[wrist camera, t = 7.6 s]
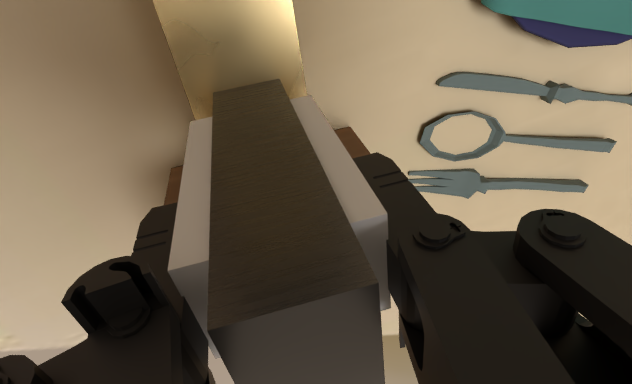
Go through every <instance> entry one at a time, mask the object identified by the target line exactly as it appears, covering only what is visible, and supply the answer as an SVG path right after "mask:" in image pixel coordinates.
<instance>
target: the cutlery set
mask: <svg viewBox="0 0 632 384" xmlns="http://www.w3.org/2000/svg"><path fill="white" fill-rule="evenodd" d="M481 3H482V4H483V5H485V6H486V7H488V8H489V9H491V10H492V11H494V12H497V13H501V14H505V15H509V16H511V17H512V18H513V19H514V20H515V21H516V22H517V24H518V25H519V26H520V27H521V28H522V29H523V30H525V31H527V32H529V33H532V34H534V35H537V36H539V37H542V38H545V39H547V40H550V41H552V42H555V43H557V44H560V45H563V46H565V47H568V48H572V47H588V46H603V45H617V44H620V43H622V42H625V41H627V40H630V39H632V0H481ZM436 84H437V85H438V86H444V87H454V88H465V89H475V90H486V91H496V92H507V93H517V94H528V95H538V96H541V99H542V100H544V101H546V102H548V103H550V104H551V102H552V100H553V99H557V100H559V101H561V102H563V103H569V102H572V101H576V100H589V101H614V102H621V103H627V104H629V105H632V93H631V94H630V96H629V95H609V94H603V93H598V92H591V91H581V90H579V89H576V88H574V87H572V86H569V85H567V84H563V85H561V86H560V85H559V84H557V83H554V82H552V81H549V82H548V83H547V84H546V85H545V86H544V85H541V84H539V83H536V82H532V81H528V80H525V79H521V78H515V77H509V76H501V75H492V74H482V73H471V72H456V73H452V74H449V75H447V76H445V77H442V78H440V79H439V80H438V81H437V83H436ZM466 114H473V115H475V116H478V117H481V118H484V119H486V121H487V123H488V124H489V126H490V127H491V129H492V131H491V134H490V136H489V139H488V141H487V143H485V144H484V145H482V146H481V147H479V148H477V149H476V150H474V151H473V152H468V153H463V154H458V155H453V154H449V153H446V152H442V151H439V150H438V149H437V148H436V147H435V146H434V145H433V143H432V142H431V141H430V137H431V134H432V132H433V129H434V126H436V125H438V124H440V123H441V122H443V121H445V120H447V119H448V118H450V117H452V116H459V115H466ZM503 141H505V142H512V143H520V144H528V145H538V146H546V147H553V148H563V149H575V150H585V151H596V152H608V153H610V151H611V150H612V148H613V147H614V145H615V143H616V142H617V141H614V140H612V139H610V138H606V139H601V138H556V137H541V136H522V135H508V134H505V131H504V130H503V128H502V127H501V125H500V124H499V123H498V121H497V120H496V118H493V117H490V116H487V115H483V114H480V113H477V112H466V113H459V114H451V115H447V116H445V117H443V118H441V119H439V120H438V121H436V122H434V123H432V124H430V125H428V126H427V127H425V129H424V132H423V135H422V138H421V141H420V144H421V145H422V146H423V147H424V148H425V149H426V150H427V151H428V152H429V153H430V154H431V155H432V156H434V157H439V158H443V159H447V160H451V161H461V160H467V159H474V158H479V157H481V156H483V155H484V154H486V153H488V152H490V151H492V150H493V149H495V148H497V147H498V146H499V145H500V144H501V143H502V142H503ZM408 175H419V176H430V177H438V178H421V179H408V181H410V182H411V183H419V184H429V185H436V186H414V187H415V188H416V189H417V190H418V191H420V192H430V193H438V194H446V195H454V196H461V197H465V198H468V199H469V198H470V197H471V196H472V195H473V194H474V193H475V192H476V191H479V192H481V193H484V194H485V193H486V191H487V190H503V189H530V190H547V191H558V192H583V193H584V191H585V190H586V188H587V187H588V184H586V183H585V182H583V181H582V180H554V179H533V178H500V179H486V178H485V177H484V176H480V174H479V173H478V172H477V171H476V170H474V169H461V170H458V169H453V170H424V171H409V172H408Z"/></svg>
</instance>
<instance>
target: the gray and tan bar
mask: <svg viewBox="0 0 632 384" xmlns="http://www.w3.org/2000/svg"><path fill="white" fill-rule="evenodd" d="M152 1H153V3H154V6H155V9H156V12H157V15H158V17H159V20H160V23H161V26H162V29H163V31H164V34H165V37H166V40H167V42H168V45H169V48H170V51H171V54H172V56H173V59H174V62H175V65H176V68H177V70H178V73H179V76H180V79H181V82H182V84H183V87H184V90H185V93H186V96H187V98H188V101H189V104H190V107H191V109H192V112H193V115H194V118H195V120H199V119H204V118H208V117H212V151H211V191H210V231H209V271H208V311H207V332H208V334H209V336H210V338H211V339H212V341H213V343H214V345H215V347H216V349H217V351H218V353H219V355H220V356H221V358H222V360H223V362H224V364H225V366H226V368H227V370H228V372H229V373H230V375H231V377H232V379H233V381H234V383H235V384H385V377H384V361H383V344H382V328H381V312H380V295H379V282H378V280H377V278H376V276H375V274H374V272H373V270H372V268H371V266H370V264H369V262H368V260H367V258H366V256H365V254H364V251H363V249H362V247H361V245H360V243H359V241H358V239H357V237H356V235H355V233H354V231H353V229H352V227H351V225H350V223H349V221H348V219H347V217H346V214H345V212H344V210H343V208H342V206H341V204H340V202H339V200H338V198H337V196H336V194H335V192H334V190H333V188H332V186H331V184H330V182H329V180H328V177H327V175H326V173H325V171H324V169H323V167H322V165H321V163H320V161H319V159H318V157H317V155H316V153H315V151H314V149H313V147H312V145H311V142H310V140H309V138H308V136H307V134H306V132H305V130H304V128H303V126H302V124H301V122H300V120H299V118H298V116H297V114H296V112H295V110H294V108H293V105H292V103H291V101H290V99H294V98H299V97H303V96H307V91H306V85H305V79H304V73H303V66H302V60H301V54H300V48H299V41H298V35H297V29H296V23H295V16H294V10H293V4H292V0H152Z"/></svg>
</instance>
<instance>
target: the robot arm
mask: <svg viewBox="0 0 632 384" xmlns="http://www.w3.org/2000/svg"><path fill="white" fill-rule="evenodd" d="M290 101H291V103H292V105H293V108H294V110H295V112H296V114H297V116H298V118H299V120H300V122H301V124H302V126H303V128H304V130H305V132H306V134H307V136H308V138H309V140H310V142H311V145H312V147H313V149H314V151H315V153H316V155H317V157H318V159H319V161H320V163H321V165H322V167H323V169H324V171H325V173H326V175H327V177H328V180H329V182H330V184H331V186H332V188H333V190H334V192H335V194H336V196H337V198H338V200H339V202H340V204H341V206H342V208H343V210H344V212H345V214H346V217H347V219H348V221H349V223H350V225H351V227H352V229H353V231H354V233H355V235H356V237H357V239H358V241H359V243H360V245H361V247H362V249H363V251H364V254H365V256H366V258H367V260H368V262H369V264H370V266H371V268H372V270H373V272H374V274H375V276H376V278H377V280H378V282H379V295H380V311H382V310H386V309H389V308H391V301H390V293H391V295H392V297H393V299H394V301H395V303H396V305H397V307H398V309H399V341H400V348H402V347H405V344H406V347H407V350H408V353H409V356H410V359H411V362H412V365H413V368H414V371H415V374H416V377H417V380H418V383H419V384H632V246H631V245H630V244H628V243H626V242H625V241H623V240H622V239H620V238H618V237H617V236H615V235H613V234H612V233H610V232H609V231H607V230H605V229H604V228H602V227H600V226H599V225H597V224H596V223H594V222H592V221H591V220H588V219H586V218H584V217H582V216H580V215H578V214H575V213H571V212H567V211H563V210H557V209H541V210H536V211H531V212H529V213H528V214H526V215H524V216H523V217H521V220H520V222H519V224H518V227H517V231H500V232H480V231H470V229H469V228H467V227H466V226H465V225H464V224H463V223H462V222H461V221H459V220H457V219H455V218H453V217H451V216H448V215H443V214H438V213H436V212H435V211H434V210H433V208H432V207H431V206H430V205H429V204H428V202H427V201H426V200H425V199H424V198H423V196H422V195H421V194H420V193H419V192H418V190H417V189H416V188H415V187H414V185H413V184H412V183H411V182H410V181H408V178H407V177H406V176H405V175H404V173H403V172H401V170H400V169H399V167H398V166H397V165H396V164H395V163H394V161H393V160H392V159H390V158H388V157H386V156H384V155H382V154H379V153H373V154H368V155H364V156H360V157H356V158H351V156H350V155H349V153H348V152H347V150H346V148H345V147H344V145H343V144H342V142H341V141H340V139H339V138H338V136H337V135H336V133H335V131H334V130H333V128H332V127H331V125H330V124H329V122H328V121H327V119H326V117H325V116H324V114H323V113H322V111H321V110H320V108H319V107H318V105H317V104H316V102H315V100H314V99H313V97H312V96H311V95H308V96H303V97H299V98H294V99H290ZM211 151H212V117H208V118H204V119H199V120H194V121H190V125H189V132H188V139H187V145H186V152H185V159H184V165H183V172H182V178H181V185H180V192H179V198H178V202H176V203H172V204H168V205H164V206H160V207H155V208H152V209H151V210H150V212H149V213H148V214H147V215H146V216H145V218H144V219H143V220H142V221H141V223H140V226H139V230H138V233H137V237H136V238H137V240H135V244H134V248H133V252H134V253H132V255H131V256H123V257H119V258H114V259H110V260H108V261H106V262H103V263H101V264H99V265H97V266H95V267H93V268H92V269H90V270H89V271H87V272H86V273H85V274H83V275H82V276H80V277H79V278H78V279H77V280H76V281H75V282H74V283H73V285H72V286H71V287H70V288H69V289H68V290H67V292H66V294H65V296H64V298H63V300H62V302H61V303H62V304H63V305H64V306H65V307H66V309H67V310H68V311H69V312H70V313H71V314H72V316H73V317H74V318H75V319H76V320H77V321H78V323H79V324H80V325H81V326H82V327H83V328H84V330H85V331H86V332H87V333H88V338H87V339H86V340H84V341H83V342H81V343H79V344H78V345H76V346H74V347H72V348H71V349H69V350H67V351H65V352H63V353H61V354H59V355H57V356H55V357H54V358H52V359H50V360H48V361H46V362H44V363H42V364H40V365H38V366H37V365H36V364H35V363H34V362H33V361H32V360H30V359H29V358H27V357H26V356H25V355H9V356H6V357H3V358H0V384H215V380H214V378H213V375H212V372H211V371H210V369H209V367H208V346H209V348H210V349H211V351H212V353H213V355H214V357H215V358H216V359H217V358H220V357H221V356H220V355H219V353H218V351H217V349H216V347H215V345H214V343H213V341H212V339H211V338H210V336H209V334H208V332H207V311H208V271H209V231H210V191H211ZM579 313H580V314H582V315H583V316H584V317H585V318H586V319H585V318H584V317H582V316H581V315H580V314H579ZM588 320H589V321H588Z"/></svg>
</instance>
